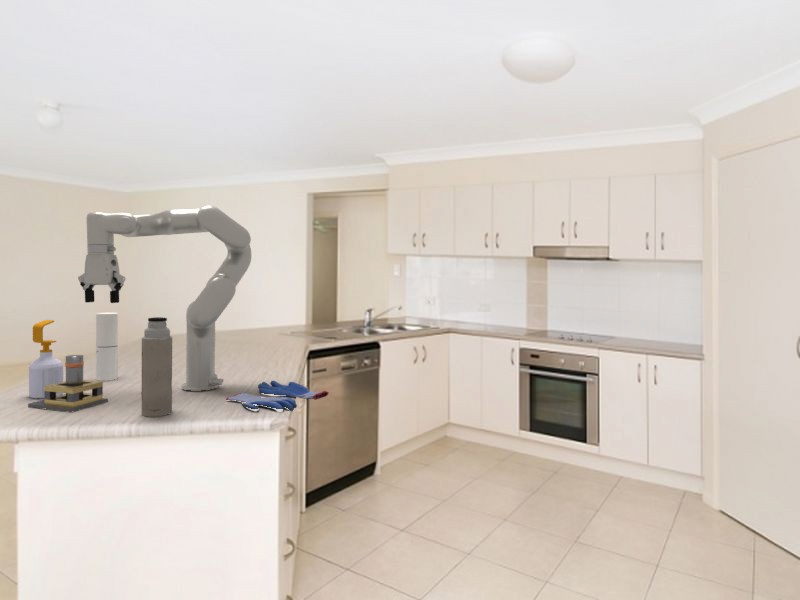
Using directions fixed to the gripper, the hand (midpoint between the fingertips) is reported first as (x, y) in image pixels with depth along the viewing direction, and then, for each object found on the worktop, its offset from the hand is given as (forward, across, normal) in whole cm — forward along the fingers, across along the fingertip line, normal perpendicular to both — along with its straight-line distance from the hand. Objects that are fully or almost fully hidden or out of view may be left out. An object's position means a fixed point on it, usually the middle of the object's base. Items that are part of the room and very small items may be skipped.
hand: (102, 302), depth 164 cm
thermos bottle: (+31, -32, +15) cm, 47 cm away
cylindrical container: (+31, +17, -20) cm, 40 cm away
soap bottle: (+30, +15, +8) cm, 35 cm away
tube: (+29, -3, +14) cm, 33 cm away
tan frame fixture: (+30, -1, +14) cm, 34 cm away
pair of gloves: (+32, -57, -11) cm, 66 cm away
